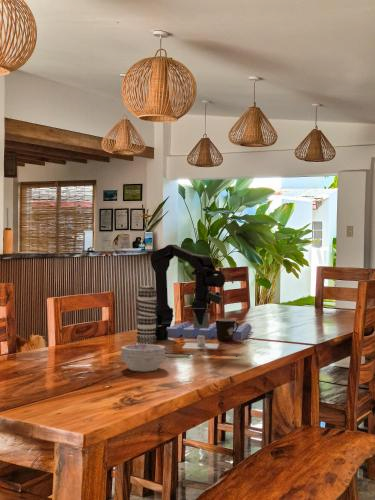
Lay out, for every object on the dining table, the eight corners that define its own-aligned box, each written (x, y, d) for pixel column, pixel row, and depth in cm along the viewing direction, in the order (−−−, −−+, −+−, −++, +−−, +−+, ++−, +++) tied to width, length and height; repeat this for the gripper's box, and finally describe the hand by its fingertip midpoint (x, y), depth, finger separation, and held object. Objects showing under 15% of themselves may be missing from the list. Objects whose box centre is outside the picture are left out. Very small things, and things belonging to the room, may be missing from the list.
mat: (159, 356, 250) (159, 354, 250) (164, 351, 261) (164, 349, 261) (188, 357, 248) (188, 355, 248) (191, 352, 259) (191, 350, 259)
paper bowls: (142, 363, 236) (142, 341, 235) (174, 369, 226) (174, 346, 226) (111, 369, 224) (111, 346, 224) (144, 375, 214) (144, 351, 214)
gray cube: (208, 328, 266) (208, 313, 266) (193, 327, 267) (193, 312, 267) (209, 326, 272) (209, 311, 272) (195, 326, 273) (195, 311, 273)
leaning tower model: (154, 346, 273) (155, 287, 273) (133, 345, 275) (133, 286, 275) (159, 343, 282) (160, 285, 282) (139, 342, 284) (139, 285, 284)
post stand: (181, 350, 263) (182, 338, 263) (186, 345, 277) (186, 333, 277) (216, 352, 262) (216, 339, 262) (219, 346, 276) (219, 334, 275)
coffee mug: (218, 344, 281) (219, 321, 281) (212, 341, 290) (212, 319, 290) (244, 343, 284) (244, 320, 284) (237, 340, 293) (237, 318, 293)
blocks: (165, 338, 299) (165, 328, 299) (184, 329, 333) (184, 319, 333) (241, 342, 291) (241, 331, 291) (252, 332, 325) (252, 322, 324)
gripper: (219, 288, 259) (219, 327, 259) (223, 285, 277) (222, 321, 277) (191, 287, 260) (191, 326, 260) (197, 284, 279) (196, 321, 279)
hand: (201, 323), depth 269 cm, fingers closed on gray cube, 6 cm apart
